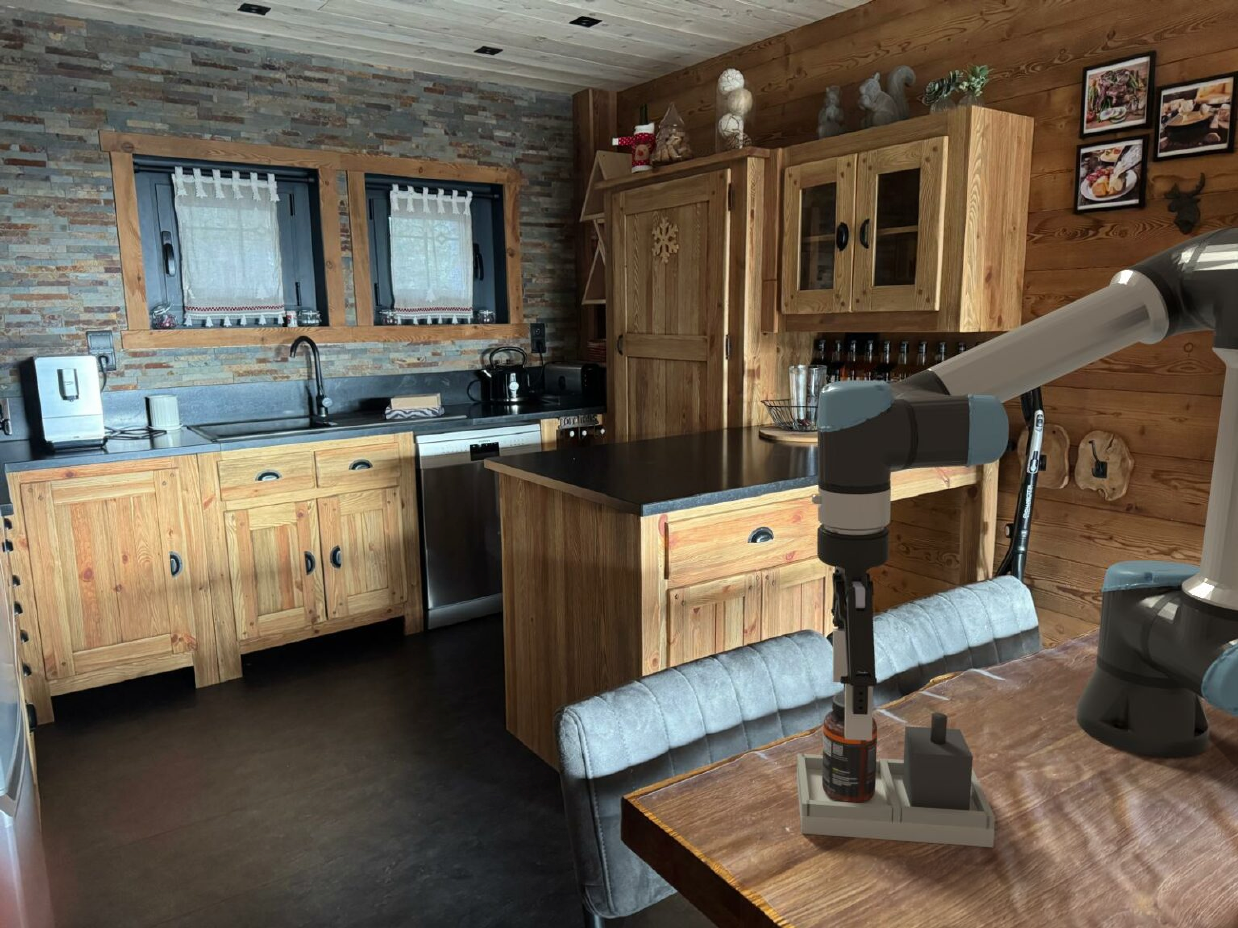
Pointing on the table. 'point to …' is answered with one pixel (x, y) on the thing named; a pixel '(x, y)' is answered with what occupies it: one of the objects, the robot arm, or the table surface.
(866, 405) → the robot arm
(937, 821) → the two-section tray
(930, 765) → the single-knob plug
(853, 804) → the free socket
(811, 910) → the table surface
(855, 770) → the supplement bottle
